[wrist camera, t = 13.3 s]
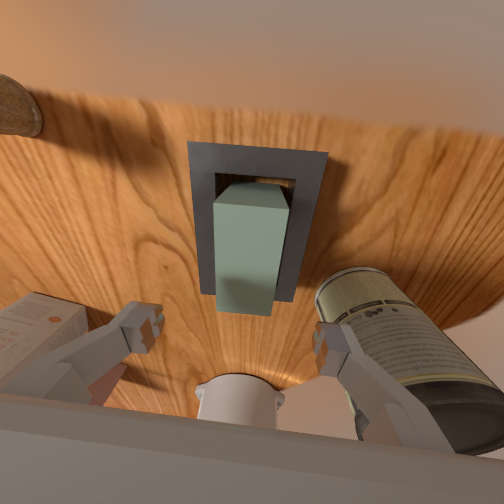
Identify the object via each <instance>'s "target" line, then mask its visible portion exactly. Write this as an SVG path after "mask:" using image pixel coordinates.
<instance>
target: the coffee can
mask: <svg viewBox="0 0 504 504" xmlns="http://www.w3.org/2000/svg"><path fill="white" fill-rule="evenodd" d="M315 307H316V309H317V311H318V313H319V316H320V319H321V322H332V323H341V324H349V325H350V326H351V328H352V330H353V332H354V334H355V336H356V338H357V340H358V342H359V344H360V346H361V348H362V350H363V352H364V354H365V355H368V356H369V357H370V358H372V359H373V360H374V361H375V362H376V363H377V364H378V365H380V366H381V367H382V368H383V369H384V370H385V371H386V372H387V373H389V374H390V375H391V376H392V377H393V378H394V379H395V380H397V381H398V382H399V383H400V384H401V385H402V386H403V387H404V388H406V389H407V390H408V391H409V392H410V393H411V394H412V395H414V396H415V397H416V398H417V399H418V400H419V401H420V402H421V403H423V404H424V405H425V406H426V407H427V409H428V410H429V412H430V413H431V415H432V417H433V418H434V420H435V421H436V423H437V425H438V426H439V428H440V429H441V431H442V433H443V434H444V436H445V437H446V439H447V440H448V442H449V444H450V445H451V447H452V448H453V450H454V452H455V453H456V454H464V455H471V456H476V455H481V454H484V453H488V452H492V451H495V450H497V449H500V448H503V447H504V393H503V392H502V391H501V390H500V389H499V388H498V387H497V386H496V385H495V384H494V383H493V382H492V381H491V380H490V379H489V378H488V377H487V376H486V375H485V374H484V373H483V372H482V371H481V370H480V369H479V368H478V367H477V366H476V365H475V364H474V363H473V361H472V360H470V359H469V358H468V357H467V356H466V354H465V353H464V352H463V351H462V350H461V349H460V348H459V347H458V346H456V344H454V342H453V341H452V340H451V339H450V338H449V337H447V336H446V334H445V333H444V332H443V331H442V330H441V329H440V328H439V327H437V326H436V325H435V324H434V323H433V322H432V320H431V319H430V318H429V317H428V316H427V315H426V314H425V313H424V312H423V311H422V310H421V309H420V308H419V307H418V306H417V305H416V304H415V303H414V302H413V301H412V300H411V299H410V298H409V297H408V296H407V295H406V294H405V293H404V292H403V291H402V290H401V289H400V288H399V287H398V286H397V285H396V284H395V283H394V282H393V281H392V280H391V278H390V277H389V276H388V275H387V274H386V273H384V272H383V271H381V270H378V269H375V268H371V267H352V268H348V269H345V270H342V271H339V272H337V273H335V274H333V275H332V276H330V277H329V278H327V279H326V280H325V281H324V282H323V283H322V284H321V286H320V287H319V288H318V290H317V292H316V295H315ZM343 388H344V387H343ZM344 391H345V394H346V397H347V400H348V403H349V406H350V409H351V412H352V415H353V418H354V421H355V424H356V426H355V427H356V433H357V436H358V439H359V441H364V439H363V436H362V433H363V431H364V429H365V428H366V427H367V426H368V424H369V423H370V422H369V420H368V419H367V418H366V416H365V415H364V414H363V412H362V411H361V410H360V408H359V407H358V406H357V404H356V403H355V402H354V400H353V399H352V398H351V396H350V395H349V394H348V392H347V391H346V390H345V388H344Z"/></svg>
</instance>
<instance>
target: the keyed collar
mask: <svg viewBox="0 0 504 504" xmlns="http://www.w3.org/2000/svg"><path fill="white" fill-rule="evenodd" d="M187 145H188V156H189V167H190V178H191V190H192V201H193V212H194V223H195V234H196V246H197V257H198V268H199V279H200V290H201V294H208V295H216V278H215V245H214V212H213V202H214V201H215V200H216V199H217V198H218V197H219V196H220V195H221V194H222V193H223V192H224V173H228V174H240V175H253V176H265V177H277V178H289V184H288V190H287V196H286V203H287V205H288V208H289V214H288V220H287V226H286V231H285V237H284V243H283V248H282V254H281V260H280V265H279V271H278V277H277V282H276V288H275V294H274V300H273V301H284V302H293V298H294V294H295V290H296V286H297V282H298V277H299V273H300V269H301V265H302V261H303V257H304V253H305V248H306V244H307V240H308V236H309V232H310V228H311V224H312V219H313V215H314V211H315V207H316V203H317V199H318V195H319V191H320V186H321V182H322V178H323V174H324V170H325V166H326V162H327V157H328V153H329V152H318V151H305V150H293V149H280V148H267V147H255V146H242V145H230V144H217V143H204V142H192V141H187Z"/></svg>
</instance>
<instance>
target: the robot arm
mask: <svg viewBox="0 0 504 504" xmlns="http://www.w3.org/2000/svg"><path fill="white" fill-rule="evenodd" d="M162 310H163V308H162V305H160V304H154V303H147V302H138V301H131V302H129V303H128V304H127V305H126V306H125V307H124V308H123V309H122V310H121V311H120V312H119V313H118V314H117V315H116V316H115V317H114V318H113V319H112V320H111V321H110V323H109V324H108V325H103V326H101V327H99V328H97V329H95V330H93V331H91V332H89V333H87V334H85V335H83V336H81V337H79V338H77V339H75V340H73V341H71V342H69V343H67V344H65V345H63V346H61V347H59V348H57V349H55V350H53V351H51V352H49V353H47V354H45V355H43V356H41V357H39V358H37V359H36V360H35V361H34V362H32V363H31V364H30V365H29V366H28V367H27V368H26V369H24V370H23V371H22V372H21V373H20V374H19V375H17V376H16V377H15V378H14V379H13V380H12V381H11V382H9V383H8V384H7V385H6V386H5V387H4V388H2V389H1V390H0V504H504V460H501V459H494V458H486V457H478V456H471V455H464V454H456V453H455V452H454V450H453V448H452V447H451V445H450V444H449V442H448V440H447V439H446V437H445V436H444V434H443V433H442V431H441V429H440V428H439V426H438V425H437V423H436V421H435V420H434V418H433V417H432V415H431V413H430V412H429V410H428V409H427V407H426V406H425V405H424V404H423V403H421V402H420V401H419V400H418V399H417V398H416V397H415V396H414V395H412V394H411V393H410V392H409V391H408V390H407V389H406V388H404V387H403V386H402V385H401V384H400V383H399V382H398V381H397V380H395V379H394V378H393V377H392V376H391V375H390V374H389V373H387V372H386V371H385V370H384V369H383V368H382V367H381V366H380V365H378V364H377V363H376V362H375V361H374V360H373V359H372V358H370V357H369V356H368V355H365V354H364V352H363V350H362V348H361V346H360V344H359V342H358V340H357V338H356V336H355V334H354V332H353V330H352V328H351V326H350V325H349V324H341V323H332V322H321V321H318V322H317V323H316V326H315V327H316V331H315V332H313V336H312V348H313V352H314V353H315V354H316V355H317V358H316V360H315V361H316V365H317V369H318V373H319V375H324V376H332V377H337V379H338V380H339V382H340V383H341V384H342V386H343V387H344V388H345V390H346V391H347V392H348V394H349V395H350V396H351V398H352V399H353V400H354V402H355V403H356V404H357V406H358V407H359V408H360V410H361V411H362V412H363V414H364V415H365V416H366V418H367V419H368V420H369V422H370V423H369V424H368V426H367V427H366V428H365V429H364V431H363V433H362V436H363V439H364V441H359V440H351V439H344V438H336V437H329V436H322V435H314V434H306V433H299V432H291V431H284V430H277V410H278V409H279V408H280V406H281V405H282V404H283V403H284V394H282V393H280V392H278V391H276V390H274V389H273V388H272V387H271V386H270V385H269V384H268V383H266V382H265V381H263V380H261V379H259V378H256V377H252V376H248V375H241V374H228V375H222V376H218V377H216V378H214V379H212V380H211V381H209V382H208V383H205V384H201V385H198V386H197V387H196V391H195V393H196V395H197V397H198V398H199V400H200V402H201V403H200V408H199V412H198V417H197V419H194V418H187V417H180V416H172V415H165V414H157V413H150V412H142V411H135V410H127V409H119V408H112V407H104V406H97V405H89V404H88V403H89V402H90V401H91V399H92V394H91V393H90V391H89V390H88V388H87V387H88V386H89V385H91V384H92V383H93V382H95V381H96V380H97V379H99V378H100V377H101V376H102V375H104V374H105V373H106V372H108V371H109V370H110V369H111V368H113V367H114V366H115V365H117V364H118V363H119V362H121V361H122V360H123V359H124V358H126V357H127V356H128V355H130V354H131V353H141V354H148V353H149V351H150V350H151V348H152V346H153V345H154V343H155V337H157V336H158V335H160V333H161V332H162V330H163V327H164V324H165V317H164V315H163V314H162V313H161V312H162Z"/></svg>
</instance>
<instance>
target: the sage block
mask: <svg viewBox="0 0 504 504" xmlns="http://www.w3.org/2000/svg"><path fill="white" fill-rule="evenodd" d="M213 212H214V245H215V278H216V311H220V312H231V313H241V314H251V315H262V316H271V311H272V305H273V300H274V294H275V288H276V282H277V277H278V271H279V265H280V260H281V254H282V248H283V243H284V237H285V231H286V226H287V220H288V214H289V208H288V205H287V203H286V200H285V198H284V196H283V193H282V191H281V189H280V186H279V184H270V183H259V182H247V181H235V180H234V181H233V182H232V184H231V185H230V186H229V187H228V188H227V189H226V190H225V191H224V192H223V193H222V194H221V195H220V196H219V197H218V198H217V199H216V200H215V201H214V202H213Z"/></svg>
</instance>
